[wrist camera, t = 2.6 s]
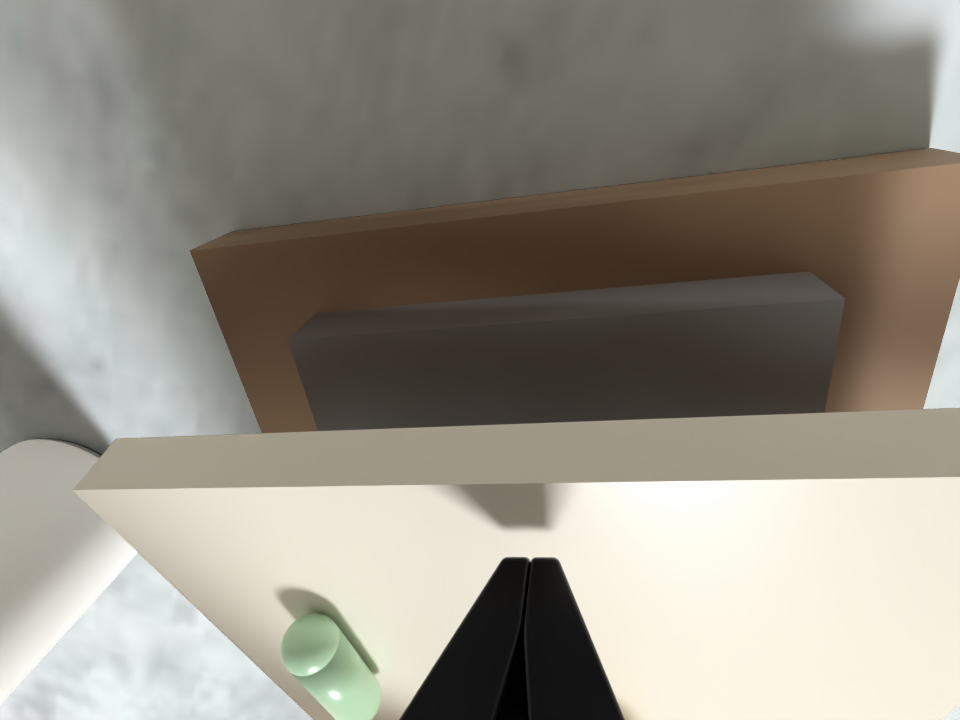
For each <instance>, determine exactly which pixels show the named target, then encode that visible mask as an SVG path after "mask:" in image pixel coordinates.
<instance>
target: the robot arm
mask: <svg viewBox="0 0 960 720" xmlns="http://www.w3.org/2000/svg"><path fill="white" fill-rule="evenodd" d="M399 720H625V719H624V716H623V714H622V711H621V709H620V706H619V704H618V702H617V699H616V697H615V694H614V692H613V689H612V687H611V685H610V682H609V680H608V677H607V675H606V672H605V670H604V668H603V665H602V663H601V660H600V658H599V655H598V653H597V651H596V648H595V646H594V643H593V641H592V638H591V636H590V634H589V631H588V629H587V626H586V624H585V621H584V619H583V617H582V614H581V612H580V609H579V607H578V604H577V602H576V600H575V597H574V595H573V592H572V590H571V587H570V585H569V583H568V580H567V578H566V575H565V573H564V570H563V568H562V566H561V563H560V561H559V560H558V559H557V558H555V557H534V558H533V559H532V560H530V559H529V558H527V557H505V558H503V559H502V560H501V562H500V563H499V565H498V566H497V568H496V569H495V571H494V572H493V574H492V576H491V577H490V579H489V580H488V582H487V583H486V585H485V586H484V588H483V590H482V591H481V593H480V594H479V596H478V597H477V599H476V601H475V602H474V604H473V605H472V607H471V608H470V610H469V611H468V613H467V615H466V616H465V618H464V619H463V621H462V622H461V624H460V625H459V627H458V629H457V630H456V632H455V633H454V635H453V636H452V638H451V639H450V641H449V643H448V644H447V646H446V647H445V649H444V650H443V652H442V653H441V655H440V657H439V658H438V660H437V661H436V663H435V664H434V666H433V667H432V669H431V671H430V672H429V674H428V675H427V677H426V678H425V680H424V681H423V683H422V685H421V686H420V688H419V689H418V691H417V692H416V694H415V696H414V697H413V699H412V700H411V702H410V703H409V705H408V706H407V708H406V710H405V711H404V713H403V714H402V716H401V717H400V719H399Z"/></svg>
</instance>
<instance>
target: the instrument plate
mask: <svg viewBox="0 0 960 720" xmlns="http://www.w3.org/2000/svg"><path fill="white" fill-rule="evenodd" d="M73 491H74V492H75V493H76V494H77V495H78V496H79V497H80V498H81V499H82V500H83V501H84V502H85V503H86V504H88V505H89V506H90V507H91V508H92V509H93V510H94V511H95V512H96V513H97V514H98V515H99V516H100V517H101V518H102V519H103V520H104V521H105V522H106V523H107V524H109V525H110V526H111V527H112V528H113V529H114V530H115V531H116V532H117V533H118V534H119V535H120V536H121V537H122V538H123V539H124V540H125V541H126V542H127V543H129V544H130V545H131V546H132V547H133V548H134V549H135V550H136V551H137V552H138V553H139V554H140V555H141V556H142V557H143V558H144V559H145V560H146V561H147V562H149V563H150V564H151V565H152V566H153V567H154V568H155V569H156V570H157V571H158V572H159V573H160V574H161V575H162V576H163V577H164V578H165V579H166V580H167V581H168V582H170V583H171V584H172V585H173V586H174V587H175V588H176V589H177V590H178V591H179V592H180V593H181V594H182V595H183V596H184V597H185V598H186V599H187V600H188V601H190V602H191V603H192V604H193V605H194V606H195V607H196V608H197V609H198V610H199V611H200V612H201V613H202V614H203V615H204V616H205V617H206V618H207V619H208V620H209V621H211V622H212V623H213V624H214V625H215V626H216V627H217V628H218V629H219V630H220V631H221V632H222V633H223V634H224V635H225V636H226V637H227V638H228V639H229V640H231V641H232V642H233V643H234V644H235V645H236V646H237V647H238V648H239V649H240V650H241V651H242V652H243V653H244V654H245V655H246V656H247V657H248V658H249V659H251V660H252V661H253V662H254V663H255V664H256V665H257V666H258V667H259V668H260V669H261V670H262V671H263V672H264V673H265V674H266V675H267V676H268V677H269V678H270V679H272V680H273V681H274V682H275V683H276V684H277V685H278V686H279V687H280V688H281V689H282V690H283V691H284V692H285V693H286V694H287V695H288V696H289V697H290V698H292V699H293V700H294V701H295V702H296V703H297V704H298V705H299V706H300V707H301V708H302V709H303V710H304V711H305V712H306V713H307V714H308V715H309V716H310V717H312V718H313V719H314V720H399V719H400V717H401V716H402V714H403V713H404V711H405V710H406V708H407V706H408V705H409V703H410V702H411V700H412V699H413V697H414V696H415V694H416V692H417V691H418V689H419V688H420V686H421V685H422V683H423V681H424V680H425V678H426V677H427V675H428V674H429V672H430V671H431V669H432V667H433V666H434V664H435V663H436V661H437V660H438V658H439V657H440V655H441V653H442V652H443V650H444V649H445V647H446V646H447V644H448V643H449V641H450V639H451V638H452V636H453V635H454V633H455V632H456V630H457V629H458V627H459V625H460V624H461V622H462V621H463V619H464V618H465V616H466V615H467V613H468V611H469V610H470V608H471V607H472V605H473V604H474V602H475V601H476V599H477V597H478V596H479V594H480V593H481V591H482V590H483V588H484V586H485V585H486V583H487V582H488V580H489V579H490V577H491V576H492V574H493V572H494V571H495V569H496V568H497V566H498V565H499V563H500V562H501V560H502V559H503V558H505V557H527V558H529V559H530V560H532V559H533V558H534V557H555V558H557V559H558V560H559V561H560V563H561V566H562V568H563V570H564V573H565V575H566V578H567V580H568V583H569V585H570V587H571V590H572V592H573V595H574V597H575V600H576V602H577V604H578V607H579V609H580V612H581V614H582V617H583V619H584V621H585V624H586V626H587V629H588V631H589V634H590V636H591V638H592V641H593V643H594V646H595V648H596V651H597V653H598V655H599V658H600V660H601V663H602V665H603V668H604V670H605V672H606V675H607V677H608V680H609V682H610V685H611V687H612V689H613V692H614V694H615V697H616V699H617V702H618V704H619V706H620V709H621V711H622V714H623V716H624V719H625V720H942V719H943V718H944V717H945V716H946V715H948V714H949V713H950V712H951V711H952V710H953V709H954V708H955V707H956V706H957V705H958V704H959V703H960V408H941V409H913V410H886V411H859V412H831V413H804V414H776V415H749V416H722V417H694V418H667V419H639V420H612V421H585V422H557V423H530V424H502V425H475V426H448V427H420V428H393V429H366V430H338V431H311V432H283V433H256V434H229V435H201V436H174V437H146V438H119V439H115V440H114V442H113V443H112V444H111V445H110V446H109V447H108V449H107V450H106V451H105V452H104V453H103V455H102V456H101V457H100V458H99V459H98V460H97V462H96V463H95V464H94V465H93V466H92V467H91V469H90V470H89V471H88V472H87V473H86V475H85V476H84V477H83V478H82V479H81V480H80V482H79V483H78V484H77V485H76V486H75V488H74V489H73Z"/></svg>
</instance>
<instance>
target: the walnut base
mask: <svg viewBox="0 0 960 720" xmlns="http://www.w3.org/2000/svg"><path fill="white" fill-rule="evenodd" d="M190 252H191V255H192V257H193V260H194V262H195V265H196V267H197V270H198V272H199V275H200V277H201V280H202V282H203V285H204V288H205V290H206V293H207V295H208V298H209V300H210V303H211V305H212V308H213V310H214V313H215V315H216V318H217V320H218V323H219V325H220V328H221V330H222V333H223V335H224V338H225V340H226V343H227V346H228V348H229V351H230V353H231V356H232V358H233V361H234V363H235V366H236V368H237V371H238V373H239V376H240V378H241V381H242V383H243V386H244V388H245V391H246V393H247V396H248V398H249V401H250V404H251V406H252V409H253V411H254V414H255V416H256V419H257V421H258V424H259V426H260V429H261V431H262V433H283V432H311V431H338V430H366V429H393V428H420V427H448V426H475V425H502V424H530V423H557V422H585V421H612V420H639V419H667V418H694V417H722V416H749V415H776V414H804V413H831V412H859V411H886V410H913V409H923V407H924V404H925V400H926V396H927V393H928V389H929V386H930V382H931V378H932V375H933V371H934V368H935V364H936V360H937V357H938V353H939V350H940V346H941V342H942V339H943V335H944V332H945V328H946V325H947V321H948V317H949V314H950V310H951V307H952V303H953V299H954V296H955V292H956V289H957V285H958V281H959V278H960V153H955V152H950V151H944V150H939V149H934V148H926V149H918V150H909V151H901V152H893V153H884V154H876V155H868V156H859V157H851V158H843V159H834V160H826V161H817V162H809V163H801V164H792V165H784V166H776V167H767V168H759V169H751V170H742V171H734V172H726V173H717V174H709V175H700V176H692V177H684V178H675V179H667V180H659V181H650V182H642V183H634V184H625V185H617V186H609V187H600V188H592V189H584V190H575V191H567V192H558V193H550V194H542V195H533V196H525V197H517V198H508V199H500V200H492V201H483V202H475V203H467V204H458V205H450V206H441V207H433V208H425V209H416V210H408V211H400V212H391V213H383V214H375V215H366V216H358V217H350V218H341V219H333V220H325V221H316V222H308V223H299V224H291V225H283V226H274V227H266V228H258V229H249V230H241V231H233V232H230V233H228V234H226V235H224V236H221V237H219V238H217V239H215V240H212V241H210V242H208V243H206V244H204V245H201V246H199V247H197V248H195V249H193V250H190Z"/></svg>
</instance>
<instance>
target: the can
mask: <svg viewBox="0 0 960 720" xmlns="http://www.w3.org/2000/svg"><path fill="white" fill-rule="evenodd" d="M101 456H102V455H100V454H98V453H96V452H94V451H92V450H90V449H88V448H86V447H83V446H81V445H78V444H75V443H71V442H67V441H62V440H53V439H48V440H43V439H34V440H26V441H22V442H19V443H17V444H15V445H13V446H11V447H9V448H8V449H6V450H4V451H3V452H1V453H0V705H1V704H2V703H3V701H4V700H5V699H6V698H7V697H8V696H9V695H10V694H11V693H12V692H13V690H14V689H15V688H16V687H17V686H18V685H19V684H20V683H21V682H22V681H23V679H24V678H25V677H26V676H27V675H28V674H29V673H30V672H31V671H32V669H33V668H34V667H35V666H36V665H37V664H38V663H39V662H40V661H41V660H42V658H43V657H44V656H45V655H46V654H47V653H48V652H49V651H50V650H51V649H52V647H53V646H54V645H55V644H56V643H57V642H58V641H59V640H60V639H61V637H62V636H63V635H64V634H65V633H66V632H67V631H68V630H69V629H70V628H71V626H72V625H73V624H74V623H75V622H76V621H77V620H78V619H79V618H80V616H81V615H82V614H83V613H84V612H85V611H86V610H87V609H88V608H89V606H90V605H91V604H92V603H93V602H94V601H95V600H96V599H97V598H98V597H99V595H100V594H101V593H102V592H103V591H104V590H105V589H106V588H107V587H108V585H109V584H110V583H111V582H112V581H113V580H114V579H115V578H116V576H117V575H118V574H119V573H120V572H121V571H122V570H123V569H124V568H125V566H126V565H127V564H128V563H129V562H130V561H131V560H132V559H133V557H134V556H135V555H136V554H137V553H138V552H137V551H136V550H135V549H134V548H133V547H132V546H131V545H130V544H129V543H127V542H126V541H125V540H124V539H123V538H122V537H121V536H120V535H119V534H118V533H117V532H116V531H115V530H114V529H113V528H112V527H111V526H110V525H109V524H107V523H106V522H105V521H104V520H103V519H102V518H101V517H100V516H99V515H98V514H97V513H96V512H95V511H94V510H93V509H92V508H91V507H90V506H89V505H88V504H86V503H85V502H84V501H83V500H82V499H81V498H80V497H79V496H78V495H77V494H76V493H75V492H74V491H73V489H74V488H75V486H76V485H77V484H78V483H79V482H80V480H81V479H82V478H83V477H84V476H85V475H86V473H87V472H88V471H89V470H90V469H91V467H92V466H93V465H94V464H95V463H96V462H97V460H98V459H99V458H100V457H101Z"/></svg>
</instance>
